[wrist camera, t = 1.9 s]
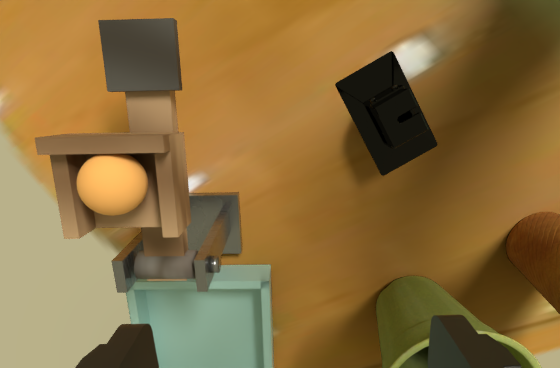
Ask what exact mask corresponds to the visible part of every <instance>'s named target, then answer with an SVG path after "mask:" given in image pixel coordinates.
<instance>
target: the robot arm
mask: <svg viewBox="0 0 560 368" xmlns="http://www.w3.org/2000/svg"><path fill="white" fill-rule="evenodd" d="M76 368H159V364H158V359H157V353H156V348H155V342H154V337H153V332H152V328H151V326H150V324H122V325H120V326H119V327H118V329H117V330H116V331H115V333H114V334H113V336H112V337H111V339H110V340H109V341H108V343H107V344H100V345H99V346H97V347H96V348H95V349H94V350H92V351H91V352H90V353H89V354H88V355H86V356H85V357H84V358H82V360H81V361H80V362H79V364H78V365H77V366H76ZM428 368H522V367H521V364H520V363H519V362H518V361H517V360H516V359H515V357H514V356H513V355H512V354H511V353H510V351H509V350H508V349H507V348H506V347H505V346H503V345H502V344H500V343H499V342H497V341H496V340H495V339H493V338H492V337H490V336H489V335H488V334H478V333H477V332H476V330H475V329H474V328H473V326H472V325H471V324H470V322H469V321H468V320H467V319H466V318H465V317H464V316H463V315H434V316H433V317H432V319H431V325H430V337H429V349H428Z"/></svg>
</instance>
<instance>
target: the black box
mask: <svg viewBox="0 0 560 368" xmlns="http://www.w3.org/2000/svg"><path fill="white" fill-rule="evenodd" d="M335 86H336V88H337V90H338V92H339V93H340V95H341V97H342V99H343V101H344V103H345V105H346V107H347V109H348V111H349V113H350V115H351V117H352V119H353V121H354V123H355V125H356V127H357V128H358V130H359V132H360V134H361V136H362V138H363V140H364V142H365V144H366V146H367V148H368V150H369V152H370V154H371V156H372V158H373V160H374V162H375V163H376V165H377V167H378V169H379V171H380V173H381V175H383V176H384V175H386V174H387V173H389V172H391V171H393V170H395V169H396V168H398V167H400V166H402V165H404V164H405V163H407V162H409V161H411V160H413V159H414V158H416V157H418V156H420V155H421V154H423V153H425V152H427V151H429V150H430V149H432V148H434V147H436V146H437V142H436V140H435V138H434V135H433V133H432V131H431V129H430V127H429V125H428V123H427V121H426V119H425V117H424V115H423V113H422V111H421V108H420V106H419V104H418V102H417V100H416V98H415V96H414V94H413V92H412V90H411V88H410V86H409V84H408V81H407V79H406V77H405V75H404V73H403V71H402V69H401V67H400V65H399V63H398V61H397V59H396V57H395V54H394V52H392V51H391V52H389V53H387V54H386V55H384V56H382V57H380V58H379V59H377V60H375V61H373V62H372V63H370V64H368V65H366V66H365V67H363V68H361V69H360V70H358V71H356V72H354V73H353V74H351V75H349V76H347V77H346V78H344V79H342V80H340V81H339V82H337V83H336V84H335Z"/></svg>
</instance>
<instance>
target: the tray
mask: <svg viewBox="0 0 560 368" xmlns="http://www.w3.org/2000/svg"><path fill="white" fill-rule="evenodd" d="M126 296H127V302H128V307H129V314H130V319H131V324H150V326H151V328H152V332H153V337H154V342H155V348H156V353H157V359H158V364H159V368H274V348H273V318H272V288H271V265H221V270H220V272H219V273H214V276H213V279H212V281H211V284H210V286H209V289H208V292H197V286H196V279H187V281H147V279H137V281H136V282H135V283H134V285H133V286H132V287H131V288H130V290H129V291H128V292H126Z"/></svg>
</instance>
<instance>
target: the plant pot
mask: <svg viewBox="0 0 560 368" xmlns="http://www.w3.org/2000/svg"><path fill="white" fill-rule="evenodd" d="M434 315H463V316H464V317H465V318H466V319H467V320H468V321H469V322H470V324H471V325H472V326H473V328H474V329H475V330H476V332H477V333H478V334H488V335H489V336H490V337H492V338H493V339H495V340H496V341H497V342H499V343H500V344H502V345H503V346H505V347H506V348H507V349H508V350H509V351H510V353H511V354H512V355H513V356H514V357H515V359H516V360H517V361H518V362H519V363H520V364H521V367H522V368H542V367H541V365H540V363H539V362H538V360H537V359H536V358H535V357H534V355H533V354H532V353H531V352H530V351H529V350H528V349H526V348H525V347H524V346H523V345H521V344H520V343H518V342H517V341H515V340H513V339H511V338H509V337H507V336H504V335H502V334H499V333H497V332H496V331H495V330H494V329H492V328H491V327H489V326H487V325H485V324H483V323H482V322H481V321H480V320H479V319H477V318H476V317H475V316H474V315H473V314H472V313H470V312H469V311H468V310H467V309H466V308H465V307H463V306H462V305H461V304H460V303H459V302H458V301H457V300H455V299H454V298H453V297H452V296H451V295H450V294H449V293H447V292H446V291H445V290H444V289H443V288H442V287H441V286H439V285H438V284H437V283H435V282H434V281H432V280H430V279H428V278H425V277H421V276H406V277H402V278H399V279H396V280H394V281H393V282H391V284H390V285H389V286H388V287H387V288H385V289H384V290H383V291H382V292H381V293H380V295H379V297H378V299H377V302H376V316H377V324H378V333H379V341H380V349H381V357H382V368H428V349H429V337H430V325H431V319H432V317H433V316H434Z"/></svg>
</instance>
